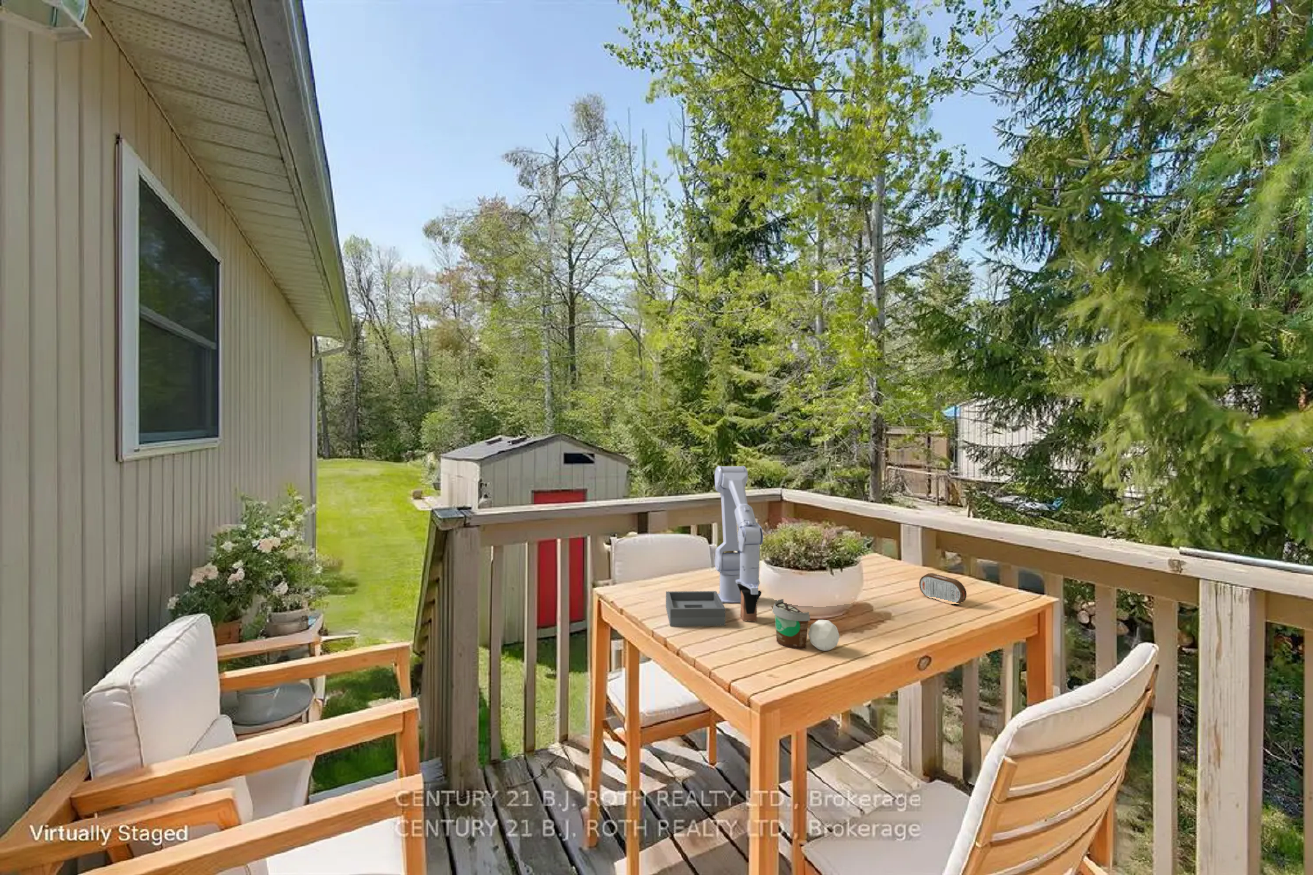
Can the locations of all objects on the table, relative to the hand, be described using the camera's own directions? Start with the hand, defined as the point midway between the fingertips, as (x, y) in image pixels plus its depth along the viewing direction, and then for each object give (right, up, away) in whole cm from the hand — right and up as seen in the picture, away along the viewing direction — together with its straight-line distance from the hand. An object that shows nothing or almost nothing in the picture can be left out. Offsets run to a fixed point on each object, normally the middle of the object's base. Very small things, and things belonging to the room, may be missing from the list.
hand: (748, 610), depth 172 cm
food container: (+7, -4, -17) cm, 19 cm away
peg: (0, -2, 0) cm, 2 cm away
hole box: (-16, -2, +2) cm, 16 cm away
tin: (+67, -3, +18) cm, 69 cm away
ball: (+16, -4, -21) cm, 27 cm away
